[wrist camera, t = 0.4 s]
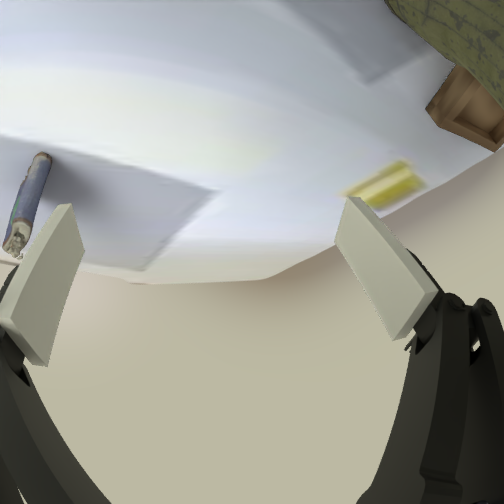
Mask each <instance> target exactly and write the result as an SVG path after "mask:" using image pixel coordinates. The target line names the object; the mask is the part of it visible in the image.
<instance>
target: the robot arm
mask: <svg viewBox="0 0 504 504" xmlns="http://www.w3.org/2000/svg"><path fill="white" fill-rule="evenodd" d="M334 242H335V244H336V245H337V247H338V248H339V250H340V251H341V253H342V255H343V256H344V258H345V259H346V261H347V263H348V264H349V266H350V267H351V269H352V271H353V272H354V274H355V276H356V277H357V279H358V281H359V282H360V284H361V285H362V287H363V289H364V291H365V292H366V294H367V296H368V297H369V299H370V301H371V303H372V304H373V306H374V308H375V310H376V311H377V313H378V315H379V317H380V319H381V320H382V322H383V324H384V326H385V328H386V329H387V331H388V333H389V335H390V337H391V339H392V341H394V340H397V339H401V338H405V337H406V336H407V335H408V334H409V333H410V331H411V330H412V328H414V330H415V332H416V334H415V336H414V337H413V338H412V339H411V341H410V342H409V343H408V344H407V345H406V347H405V349H404V350H405V351H407V349H408V348H409V347H410V346H411V350H410V357H409V363H408V368H407V373H406V377H405V382H404V387H403V391H402V395H401V399H400V403H399V406H398V410H397V414H396V418H395V421H394V424H393V427H392V431H391V434H390V437H389V440H388V443H387V446H386V449H385V452H384V454H383V457H382V460H381V462H380V465H379V468H378V471H377V473H376V475H375V477H374V480H373V482H372V484H371V486H370V487H369V489H368V490H367V491H365V493H363V494H362V495H361V497H360V498H359V499H358V501H357V503H356V504H504V331H503V328H502V325H501V322H500V319H499V316H498V314H497V311H496V309H495V307H494V306H493V304H492V303H491V302H490V301H489V300H487V299H485V298H479V299H478V300H477V301H476V303H475V304H474V305H473V306H469V305H465V303H464V302H463V300H462V299H461V298H460V297H458V296H457V295H455V294H452V293H444V291H443V290H442V289H441V287H440V286H439V285H438V283H437V282H436V281H435V279H434V278H433V277H432V275H431V274H430V273H429V272H428V271H427V269H426V268H425V266H424V265H422V263H421V261H420V260H419V259H418V258H417V257H416V256H415V255H414V254H413V253H412V252H410V251H409V250H408V249H406V248H405V247H404V246H403V244H402V243H401V242H400V241H399V240H398V239H397V238H396V236H395V235H394V234H393V233H392V232H391V231H390V229H389V228H388V227H387V226H386V225H385V224H384V223H383V221H382V220H381V219H380V218H379V217H378V216H377V215H376V214H375V213H374V212H373V211H372V209H371V208H370V207H369V206H368V205H367V204H366V203H365V202H364V201H363V200H362V199H361V198H360V197H347V199H346V203H345V206H344V210H343V213H342V217H341V220H340V224H339V227H338V230H337V234H336V237H335V240H334ZM84 252H85V250H84V247H83V243H82V240H81V237H80V233H79V230H78V226H77V222H76V219H75V215H74V211H73V207H72V203H70V204H61V205H58V206H57V207H56V209H55V210H54V211H53V213H52V214H51V216H50V217H49V219H48V220H47V222H46V223H45V225H44V226H43V228H42V229H41V231H40V232H39V234H38V235H37V237H36V238H35V240H34V242H33V243H32V245H31V247H30V248H29V250H28V252H27V253H26V255H25V257H24V258H23V260H22V262H21V264H20V266H16V267H15V268H14V269H13V270H12V271H11V273H10V274H9V275H8V277H7V279H6V280H5V282H4V286H2V288H1V290H0V504H24V503H23V500H22V498H21V496H20V493H19V490H20V492H21V494H22V495H23V497H24V499H25V500H26V502H27V504H111V503H110V502H109V500H108V499H107V498H106V497H105V496H104V495H103V493H102V492H101V491H100V490H99V489H98V487H97V486H96V485H95V484H94V483H93V481H92V480H91V479H90V477H89V476H88V475H87V473H86V472H85V471H84V469H83V468H82V467H81V465H80V464H79V462H78V461H77V459H76V458H75V457H74V455H73V454H72V452H71V451H70V449H69V448H68V446H67V445H66V443H65V441H64V440H63V438H62V437H61V435H60V433H59V432H58V430H57V428H56V426H55V425H54V423H53V421H52V419H51V418H50V416H49V414H48V412H47V410H46V408H45V407H44V405H43V403H42V401H41V399H40V397H39V394H38V393H37V390H36V388H35V386H34V384H33V382H32V379H31V377H30V375H29V372H28V370H27V368H26V367H25V365H24V364H23V361H24V358H25V357H26V358H27V359H28V360H29V361H30V362H31V363H32V364H33V365H39V366H46V367H47V366H48V363H49V359H50V355H51V351H52V347H53V343H54V339H55V335H56V332H57V328H58V325H59V321H60V318H61V315H62V312H63V309H64V305H65V302H66V299H67V296H68V293H69V291H70V288H71V285H72V282H73V280H74V277H75V274H76V272H77V269H78V267H79V264H80V262H81V259H82V257H83V254H84ZM478 340H479V341H480V346H479V348H478V349H477V350H476V351H474V350H473V346H474V345H475V343H476V342H477V341H478ZM17 487H18V488H17ZM18 489H19V490H18Z"/></svg>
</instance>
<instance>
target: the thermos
mask: <svg viewBox="0 0 504 504" xmlns="http://www.w3.org/2000/svg"><path fill="white" fill-rule="evenodd" d="M384 1H385V3H386V4H387V6H388V7H389V9H390V10H391V11H392V13H393V14H395V15H396V16H397V17H398V18H399V19H401V20H402V21H403V22H404V23H406V24H407V25H408V26H409V27H410V28H412V29H413V30H414V31H415V32H416V33H417V34H418V35H419V36H421V37H422V38H423V39H424V40H425V41H427V42H428V43H429V44H430V45H431V46H433V47H434V48H435V49H436V50H437V51H438V52H440V53H441V54H442V55H443V56H444V57H445V58H446V59H448V60H450V61H452V62H454V63H455V64H457V65H459V66H461V67H464V68H466V69H467V70H468V71H469V72H470V73H471V74H472V75H473V76H474V77H475V78H476V79H477V80H478V81H479V82H480V84H481V85H482V86H483V87H484V88H485V89H486V90H487V91H488V92H489V94H490V95H491V96H492V97H493V98H494V99H495V100H496V102H497V103H498V104H499V105H500V107H501V108H502V109H503V110H504V0H384Z"/></svg>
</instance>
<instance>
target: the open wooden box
mask: <svg viewBox="0 0 504 504" xmlns="http://www.w3.org/2000/svg"><path fill="white" fill-rule="evenodd" d="M426 111H427V112H428V113H429V115H430V116H431V117H432V119H433V120H434V122H435V123H436V124H437V126H438V127H440V128H442V129H445V130H447V131H450V132H452V133H454V134H457V135H459V136H461V137H464V138H466V139H468V140H470V141H472V142H474V143H476V144H478V145H481V146H483V147H485V148H487V149H488V150H490V151H492V152H494V153H495V152H496V151H497V150H498V149H499V148H500V147H501V146H502V145H503V143H504V110H503V109H502V108H501V107H500V105H499V104H498V103H497V102H496V100H495V99H494V98H493V97H492V96H491V95H490V94H489V92H488V91H487V90H486V89H485V88H484V87H483V86H482V85H481V84H480V82H479V81H478V80H477V79H476V78H475V77H474V76H473V75H472V74H471V73H470V72H469V71H468V70H467V69H466V68H464V67H461V66H459V65H457V64H456V66H455V67H454V69H453V70H452V72H451V73H450V75H449V76H448V78H447V79H446V80H445V82H444V83H443V85H442V86H441V88H440V89H439V90H438V92H437V93H436V95H435V96H434V98H433V99H432V100H431V102H430V103H429V105H428V106H427V107H426Z"/></svg>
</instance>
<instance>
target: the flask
mask: <svg viewBox="0 0 504 504" xmlns="http://www.w3.org/2000/svg"><path fill="white" fill-rule="evenodd" d="M47 155H48V157H49V158H48V157H47ZM51 165H52V159H51V157H50V155H49V154H44V153H43V152H40V153H39V154H37V155H36V156H35V158H34V159H33V163H32V166H30V168H28V175H27V176H25V177H26V178H25V180H24V181H23V182H22V184H21V186H20V189H19V192H18V195H17V198H16V201H15V204H14V207H13V210H12V212H11V216H10V220H9V224H8V227H7V231H6V236H5V239H4V242H3V246H2V248H3V250H4V251H6V252H7V253H8V254H9V253H10V254H11V255H12V256H13V257H14V258H16V257H17V256H19V255H20V251H21V250H22V249H23V248H24V247H25V245H26V244H27V242H28V240H29V238H30V235H31V232H32V228H33V222H34V219H35V214H36V211H37V207H38V204H39V200H40V197H41V194H42V190H43V187H44V184H45V181H46V179H47V176H48V173H49V171H50V167H51ZM22 255H23V253H22ZM22 258H23V256H20V257H19V258H17V259H18V260H20V259H22Z"/></svg>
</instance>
